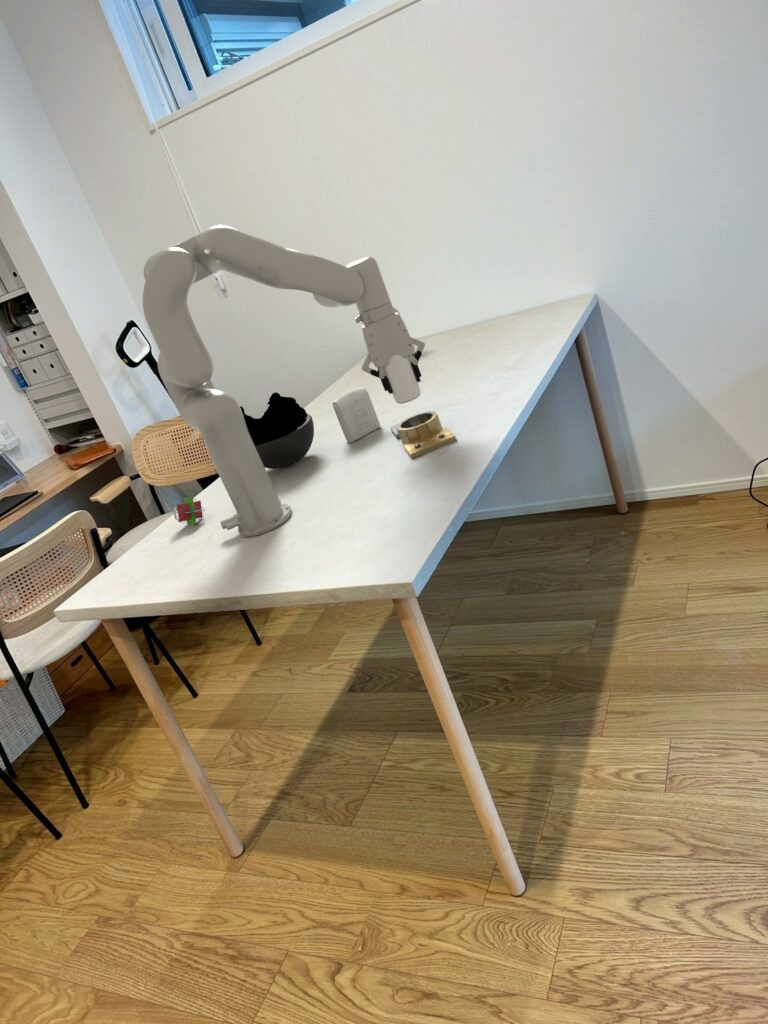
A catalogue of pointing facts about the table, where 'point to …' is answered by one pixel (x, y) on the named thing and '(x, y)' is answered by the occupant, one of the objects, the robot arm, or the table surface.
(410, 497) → the table surface
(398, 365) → the can
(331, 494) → the table surface
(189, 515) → the geometric puzzle
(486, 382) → the table surface
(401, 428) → the brass ring mounting bracket
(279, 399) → the coal bowl
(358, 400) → the white engraved tombstone
